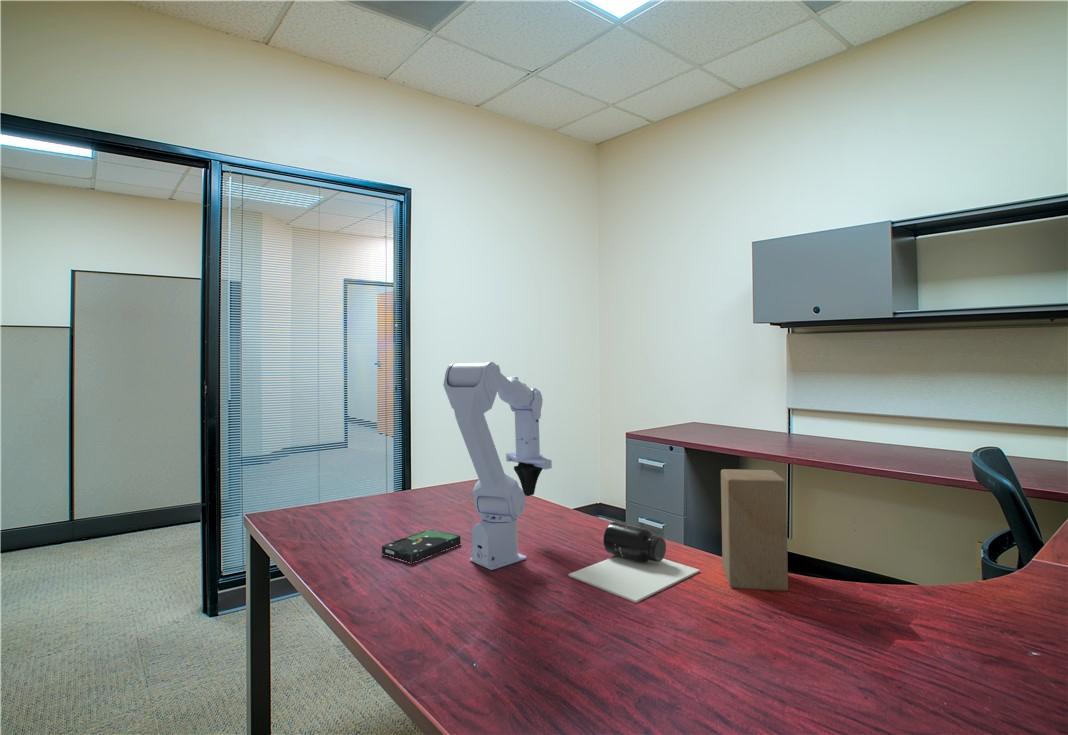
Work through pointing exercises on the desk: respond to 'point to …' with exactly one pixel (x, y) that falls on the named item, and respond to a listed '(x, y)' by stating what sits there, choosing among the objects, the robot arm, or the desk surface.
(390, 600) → the desk surface
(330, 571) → the desk surface
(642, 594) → the mat
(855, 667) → the desk surface
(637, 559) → the supplement bottle
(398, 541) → the disk drive
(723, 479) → the wooden block
